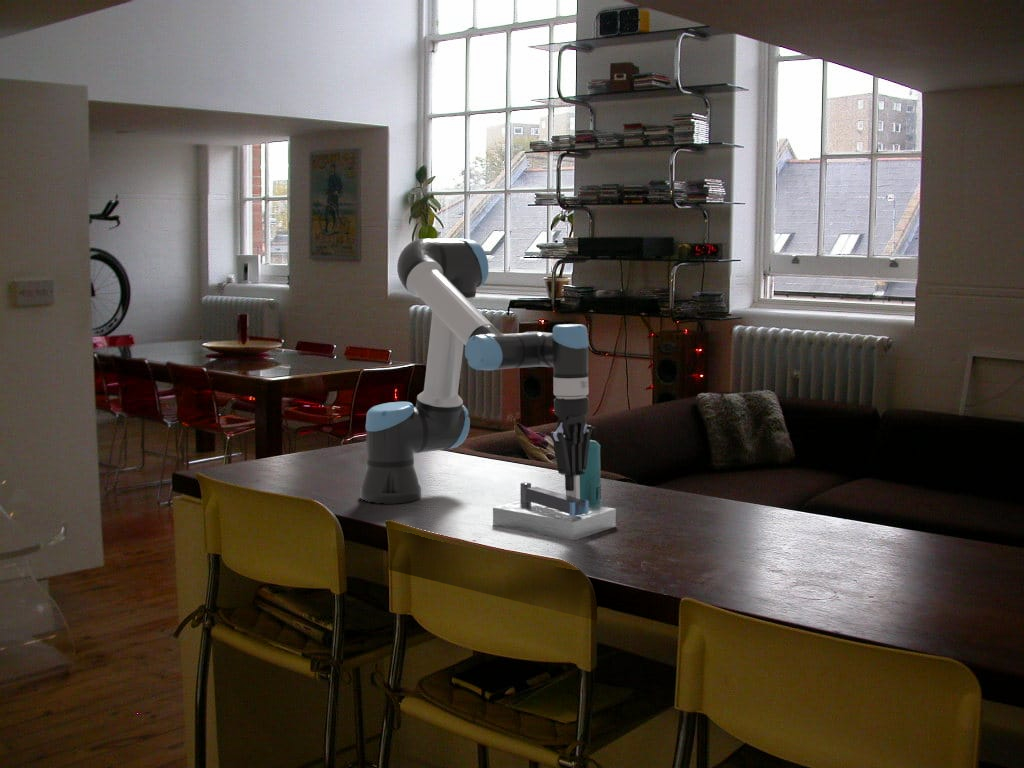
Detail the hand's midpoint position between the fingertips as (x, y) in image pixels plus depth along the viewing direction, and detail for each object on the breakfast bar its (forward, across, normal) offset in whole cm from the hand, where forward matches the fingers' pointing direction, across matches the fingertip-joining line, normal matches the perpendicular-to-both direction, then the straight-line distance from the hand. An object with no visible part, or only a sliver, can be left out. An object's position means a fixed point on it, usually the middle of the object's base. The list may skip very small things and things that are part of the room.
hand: (573, 504), depth 238 cm
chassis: (+6, +2, +6) cm, 9 cm away
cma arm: (+1, -1, +4) cm, 4 cm away
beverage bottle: (+6, +19, +9) cm, 22 cm away
